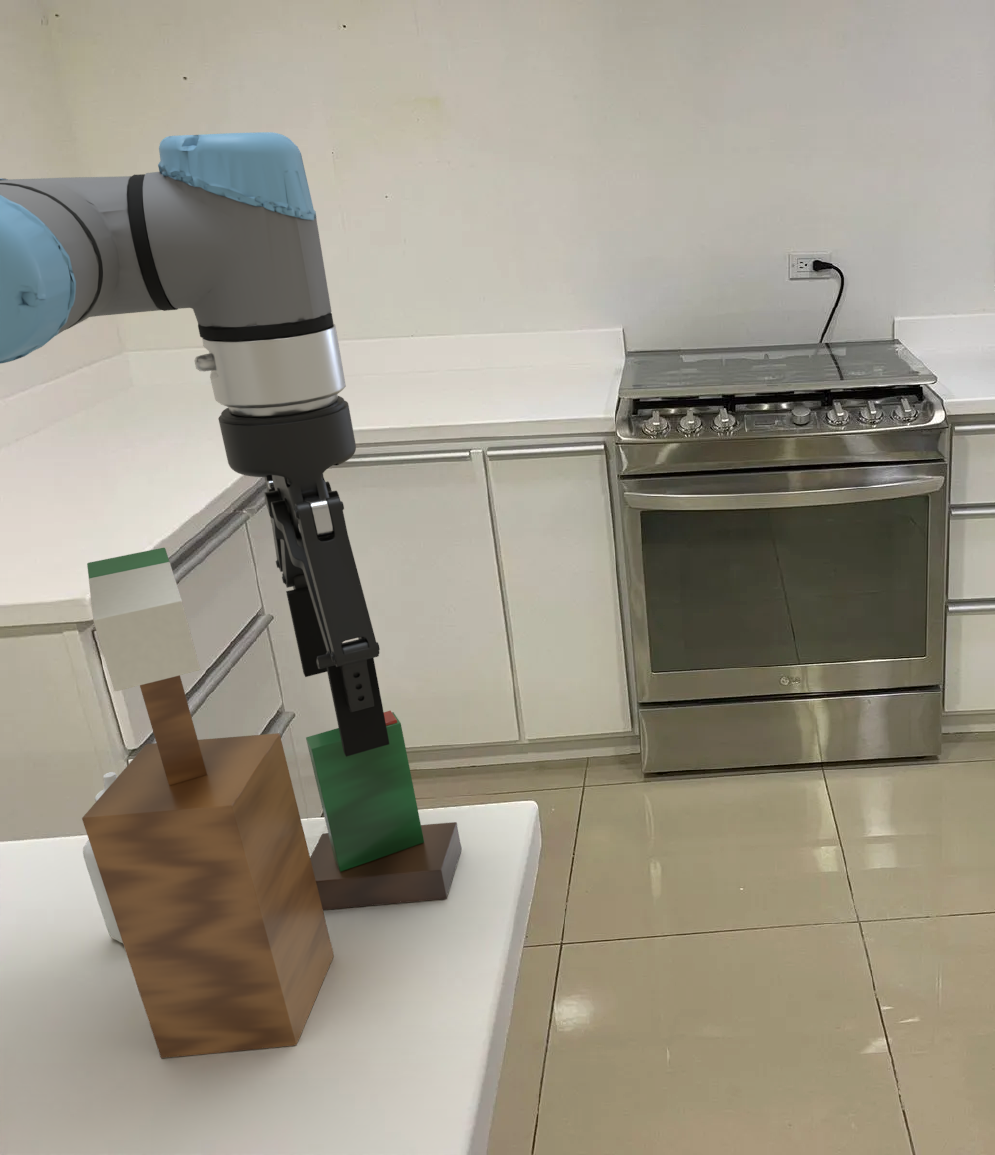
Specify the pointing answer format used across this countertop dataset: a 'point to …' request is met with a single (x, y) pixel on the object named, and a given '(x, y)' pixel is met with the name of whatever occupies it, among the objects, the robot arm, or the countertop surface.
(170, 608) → the white green block
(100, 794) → the eye dropper bottle
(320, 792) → the green carton
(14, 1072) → the countertop surface
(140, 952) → the stand
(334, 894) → the dark brown block
